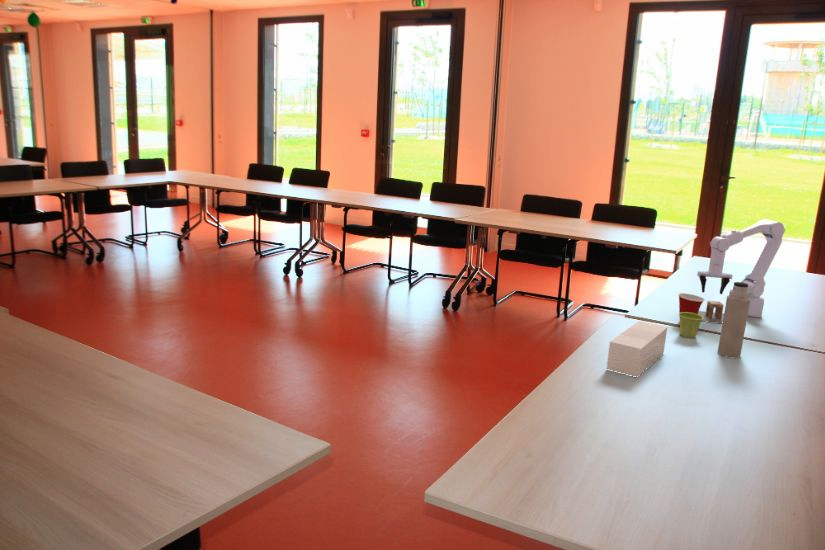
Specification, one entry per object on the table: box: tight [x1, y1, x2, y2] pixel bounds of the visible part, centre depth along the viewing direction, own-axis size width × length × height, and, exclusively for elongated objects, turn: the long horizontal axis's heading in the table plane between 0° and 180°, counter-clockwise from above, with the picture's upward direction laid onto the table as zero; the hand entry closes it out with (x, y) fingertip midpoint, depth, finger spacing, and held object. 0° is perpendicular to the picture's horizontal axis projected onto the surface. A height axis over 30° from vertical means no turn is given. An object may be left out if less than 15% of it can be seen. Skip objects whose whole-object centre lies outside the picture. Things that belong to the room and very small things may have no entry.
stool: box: [705, 300, 725, 319], centre depth 310 cm, size 5×5×7 cm
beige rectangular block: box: [605, 320, 668, 377], centre depth 249 cm, size 32×11×11 cm, turn 145°
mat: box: [698, 310, 724, 324], centre depth 310 cm, size 16×16×1 cm
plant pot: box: [678, 312, 703, 339], centre depth 282 cm, size 9×9×9 cm
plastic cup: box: [677, 292, 705, 314], centre depth 300 cm, size 11×11×12 cm
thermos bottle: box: [717, 281, 750, 358], centre depth 260 cm, size 8×8×28 cm
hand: (711, 292), depth 313 cm, fingers open, 7 cm apart
